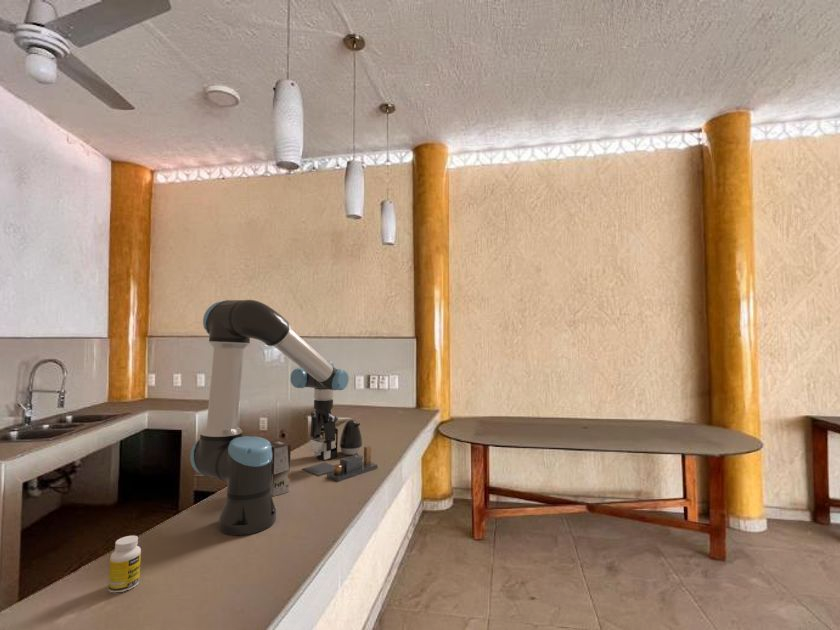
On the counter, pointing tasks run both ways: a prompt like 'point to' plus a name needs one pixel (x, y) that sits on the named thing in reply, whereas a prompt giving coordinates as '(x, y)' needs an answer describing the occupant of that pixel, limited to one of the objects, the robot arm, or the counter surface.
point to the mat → (320, 469)
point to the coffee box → (280, 467)
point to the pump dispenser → (351, 438)
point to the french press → (333, 451)
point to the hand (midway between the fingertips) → (322, 456)
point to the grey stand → (352, 466)
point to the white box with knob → (319, 444)
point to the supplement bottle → (124, 564)
